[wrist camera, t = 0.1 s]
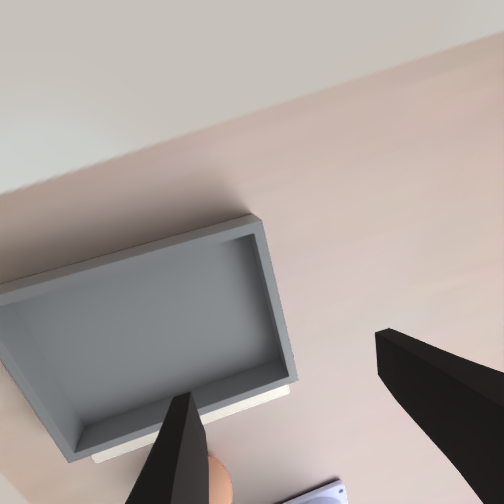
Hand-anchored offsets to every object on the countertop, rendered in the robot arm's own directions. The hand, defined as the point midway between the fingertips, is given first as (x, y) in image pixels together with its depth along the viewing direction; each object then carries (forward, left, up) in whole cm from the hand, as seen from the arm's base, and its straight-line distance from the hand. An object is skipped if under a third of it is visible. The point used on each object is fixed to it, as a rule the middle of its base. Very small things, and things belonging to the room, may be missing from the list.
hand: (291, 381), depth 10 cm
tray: (-1, +6, -10) cm, 12 cm away
